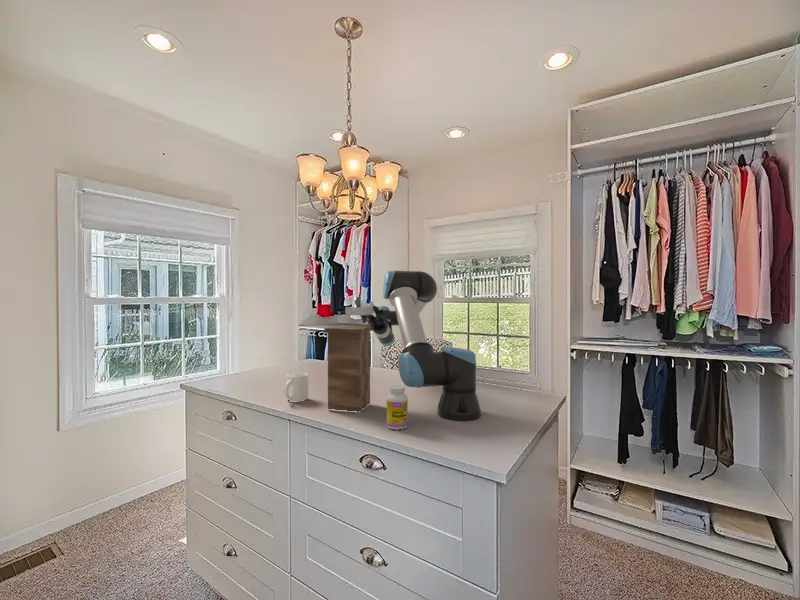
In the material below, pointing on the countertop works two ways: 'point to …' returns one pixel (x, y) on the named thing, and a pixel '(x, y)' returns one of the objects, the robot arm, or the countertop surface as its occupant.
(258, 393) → the countertop surface
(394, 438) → the countertop surface
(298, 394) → the mug
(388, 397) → the supplement bottle
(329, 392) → the post
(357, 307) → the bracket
